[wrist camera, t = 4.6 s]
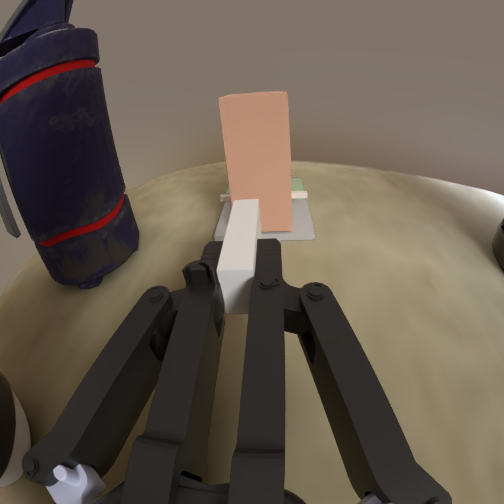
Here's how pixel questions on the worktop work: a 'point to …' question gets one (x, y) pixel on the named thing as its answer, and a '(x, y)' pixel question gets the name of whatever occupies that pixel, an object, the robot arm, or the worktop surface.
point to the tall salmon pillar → (259, 155)
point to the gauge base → (300, 231)
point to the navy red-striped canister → (61, 146)
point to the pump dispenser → (12, 434)
